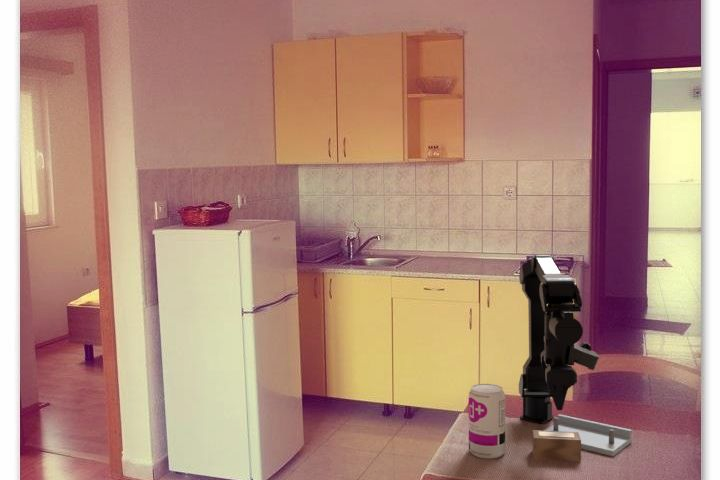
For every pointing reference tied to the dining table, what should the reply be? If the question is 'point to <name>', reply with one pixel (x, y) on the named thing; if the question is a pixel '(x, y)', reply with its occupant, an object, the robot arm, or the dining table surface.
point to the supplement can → (487, 421)
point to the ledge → (594, 434)
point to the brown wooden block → (556, 445)
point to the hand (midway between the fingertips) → (557, 403)
